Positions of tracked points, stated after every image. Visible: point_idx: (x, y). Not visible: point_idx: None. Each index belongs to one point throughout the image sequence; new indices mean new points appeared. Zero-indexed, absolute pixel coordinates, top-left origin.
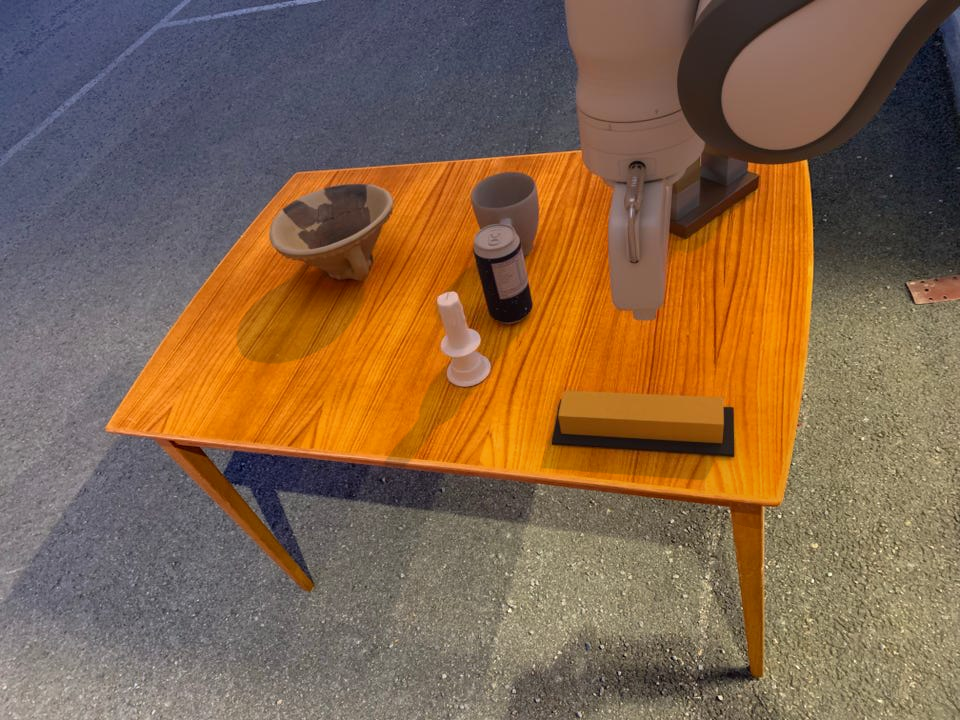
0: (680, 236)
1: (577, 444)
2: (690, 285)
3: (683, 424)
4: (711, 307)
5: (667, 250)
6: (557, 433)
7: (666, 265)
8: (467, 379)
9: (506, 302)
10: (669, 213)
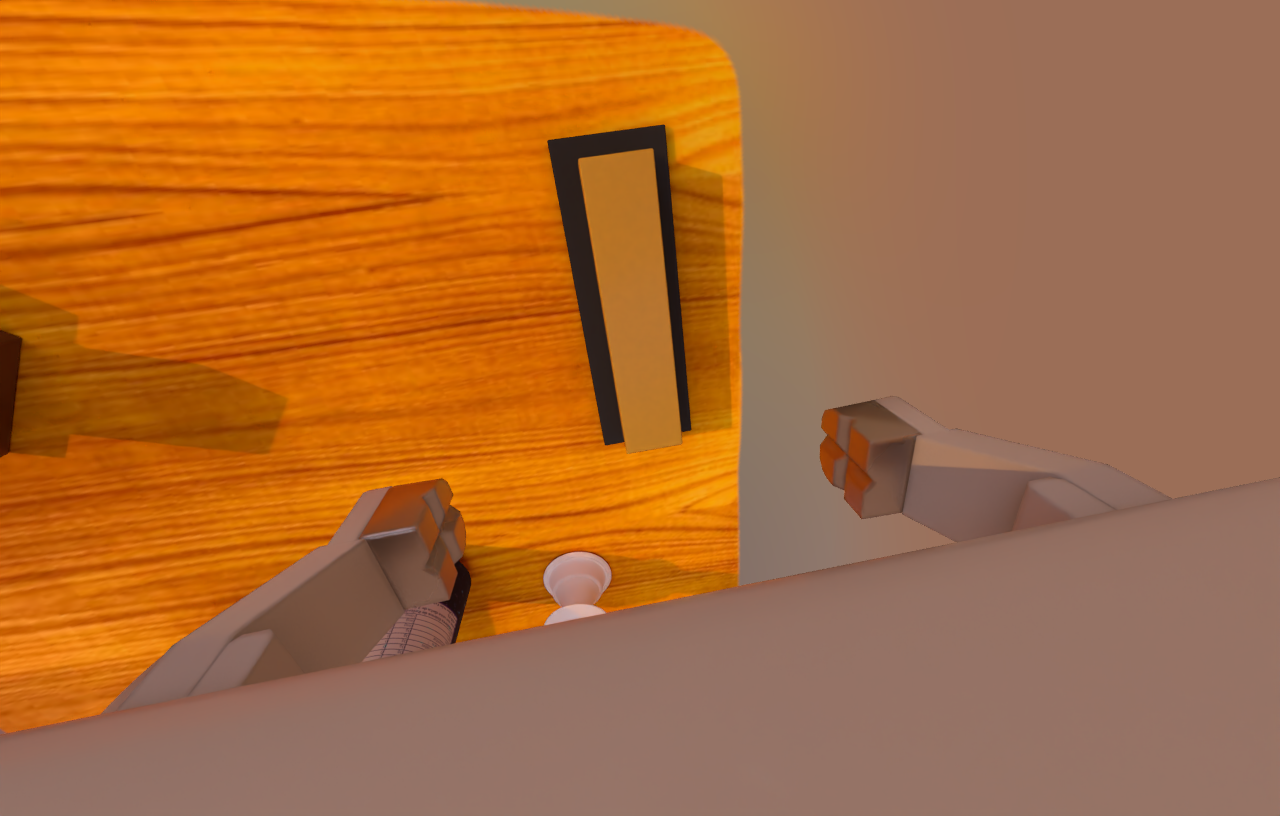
0: (18, 351)
1: (687, 394)
2: (197, 293)
3: (661, 232)
4: (252, 233)
5: (1092, 582)
6: None
7: (1239, 538)
8: (602, 573)
9: (454, 604)
10: (665, 743)
